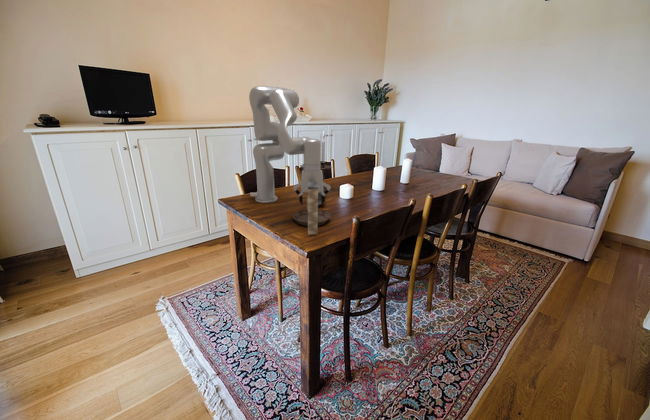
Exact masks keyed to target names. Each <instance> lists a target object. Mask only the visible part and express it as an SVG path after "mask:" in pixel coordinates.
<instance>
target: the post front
mask: <svg viewBox="0 0 650 420" xmlns="http://www.w3.org/2000/svg"><path fill="white" fill-rule="evenodd" d="M318 210H319V205H318V184H317V182H308V226H307V235H310V236H311V235H318Z"/></svg>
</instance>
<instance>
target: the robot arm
mask: <svg viewBox="0 0 650 420" xmlns="http://www.w3.org/2000/svg"><path fill="white" fill-rule="evenodd" d="M249 91H250V92H249V95H248V99H249V100H248V101H249V105H250V108H251V111H252V112H251V113H252V121H253V130H254V131H253V132H254V137H255V139H256V140H257V141H261V142H265V141H272V142H265V143H258V144H256V145H255V146H254V147H253V149H252V154H253V159H254V163H255V175H256V185H257V187H256V188H257V191H255V192H253V191H252V192H249V195H250V197H252V198H255V202H257V203H260V204H261V203H262V204H267V203H269V204H271V203H274V202H276V201H278V199H279V197H278V196H277V195H276V193H275V174H274V173H275V172H274V166H273V165H272V163H271V161H279V160H283V158H284V157H285V153H286V154H287V155H289V156H295V155H303V164H300V168H302V170H301V175H300V179H301V180H300V182H298V183H297V184H295V185H293V186H292V189H293V190H294V191H295V194H297V195H298V197H299V199H298V200H299V203H300V205H303V194H307V193H308V182H317V184H318V193H321V194H322V195H321V203H322V204H321V205H324V203H326V202H325V201H326V195H327V194H328V193H329V191H330V190H331V188H332V186H331V184H330V185H329V184H328V183H326V182H325V181H324V182H323V173H322V170H320V165H321V163H320V162H321V161H322V141H321V140H320V139H317V138H312V137H308V136H297V137H291V136H290V133H289V131H288V127H290V126H291V125H293V124H294V123H295V122H296V121H297V118H298V115H297V113H296V111H295V108H297V107H298V105H299V104H300V97H299V95H298V93H297V91H295V90H294V89H290V88H285V87H282V86H281V87H279V86H267V85H257V86H254V87H252V88H251V89H250V90H249ZM266 105H270V106H271V107H272V108H273V111H274V113H275V116H276V117H277V119H278V120H279V122H277V121H271V116H270V111H269V110H268V108H267V106H266ZM323 186H325V187H327V189H326V190H325V191H323ZM298 188H300V191H299V189H298Z"/></svg>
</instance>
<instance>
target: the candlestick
mask: <svg viewBox="0 0 650 420" xmlns="http://www.w3.org/2000/svg"><path fill="white" fill-rule="evenodd" d="M325 136H326V134H325V133H324V134H323V137H322V141H321V161H320V170H322V173H323V181H324V182H325V177H326V176H325V171H327V170H332V165H329V164H326V163H327V162H326V161H325V159H326V158H325V156H326V155H325V153H326V141H325V138H326V137H325ZM326 189H327V187H325V190H326Z"/></svg>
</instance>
